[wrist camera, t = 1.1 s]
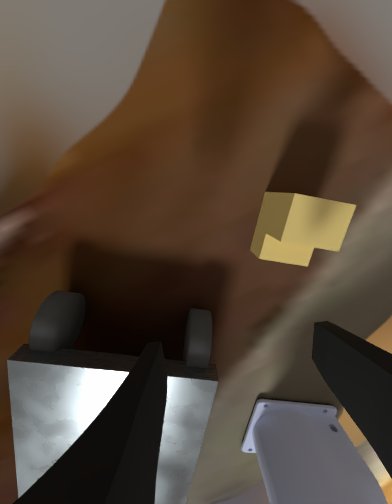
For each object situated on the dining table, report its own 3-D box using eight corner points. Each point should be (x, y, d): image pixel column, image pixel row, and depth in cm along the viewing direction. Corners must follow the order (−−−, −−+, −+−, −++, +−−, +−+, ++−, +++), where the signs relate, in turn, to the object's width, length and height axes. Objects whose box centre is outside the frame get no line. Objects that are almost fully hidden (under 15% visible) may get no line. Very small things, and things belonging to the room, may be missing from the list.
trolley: (215, 301, 20) (303, 633, 5) (177, 467, 27) (166, 827, 12) (59, 279, 19) (-441, 645, 4) (59, 460, 25) (-124, 857, 10)
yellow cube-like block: (310, 200, 18) (356, 205, 13) (292, 256, 19) (327, 279, 14) (264, 191, 17) (294, 193, 13) (249, 249, 19) (271, 270, 14)
